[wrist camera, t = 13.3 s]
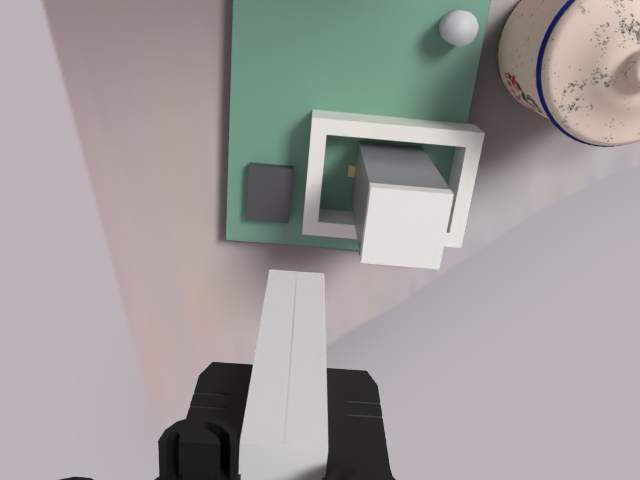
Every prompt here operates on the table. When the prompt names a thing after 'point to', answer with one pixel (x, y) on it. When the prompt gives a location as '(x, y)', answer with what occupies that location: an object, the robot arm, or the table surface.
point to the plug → (399, 206)
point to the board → (336, 96)
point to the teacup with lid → (576, 66)
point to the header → (393, 129)
